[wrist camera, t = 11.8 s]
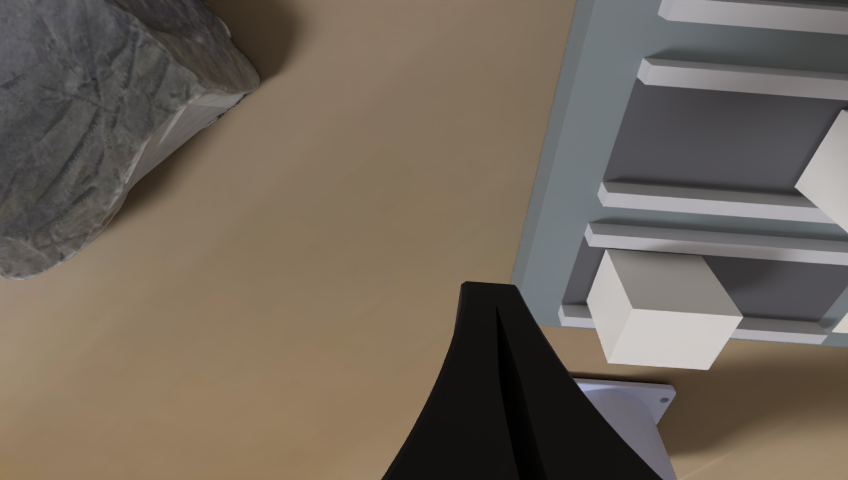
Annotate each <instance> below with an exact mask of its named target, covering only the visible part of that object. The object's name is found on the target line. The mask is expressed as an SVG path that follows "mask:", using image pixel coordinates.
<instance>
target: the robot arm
mask: <svg viewBox="0 0 848 480" xmlns="http://www.w3.org/2000/svg"><path fill="white" fill-rule="evenodd" d="M675 395H676V392H675V389H674V387H673V386H671V385H664V384H650V383H636V382H621V381H607V380H593V379H578V378H572V376H571V375H570V373H569V372H568V371H567V369H566V368H565V366H564V365H563V364H562V362H561V361H560V359H559V358H558V356H557V355H556V353H555V351H554V350H553V348H552V347H551V345H550V344H549V342H548V341H547V339H546V337H545V336H544V334H543V333H542V331H541V329H540V328H539V326H538V324H537V322H536V321H535V319H534V317H533V316H532V314H531V312H530V310H529V308H528V306H527V305H526V303H525V301H524V299H523V297H522V295H521V293H520V291H519V289H518V288H517V287H516V285H511V284H497V283H484V282H470V281H466V282H464V283H463V284H461V290H460V296H459V303H458V309H457V316H456V322H455V329H454V335H453V338H452V341H451V344H450V347H449V350H448V353H447V355H446V358H445V360H444V363H443V366H442V368H441V371H440V373H439V376H438V378H437V380H436V383H435V385H434V387H433V389H432V391H431V393H430V396H429V398H428V400H427V402H426V404H425V406H424V408H423V410H422V412H421V413H420V415H419V417H418V419H417V421H416V423H415V425H414V427H413V429H412V430H411V432H410V434H409V436H408V437H407V439H406V441H405V443H404V444H403V446H402V447H401V449H400V451H399V452H398V454H397V456H396V457H395V459H394V460H393V462H392V464H391V465H390V467H389V468H388V470H387V472H386V473H385V475H384V476H383V478H382V479H381V480H677V477H676V475H675V472H674V470H673V467H672V465H671V462H670V459H669V457H668V454H667V452H666V449H665V447H664V444H663V442H662V439H661V436H660V434H659V431H658V429H657V426H656V425H657V424H658V422H659V420H660V419H661V417H662V416H663V414H664V412H665V411H666V409H667V408H668V406H669V405H670V403H671V401H672V400H673V398H674V397H675Z"/></svg>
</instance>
